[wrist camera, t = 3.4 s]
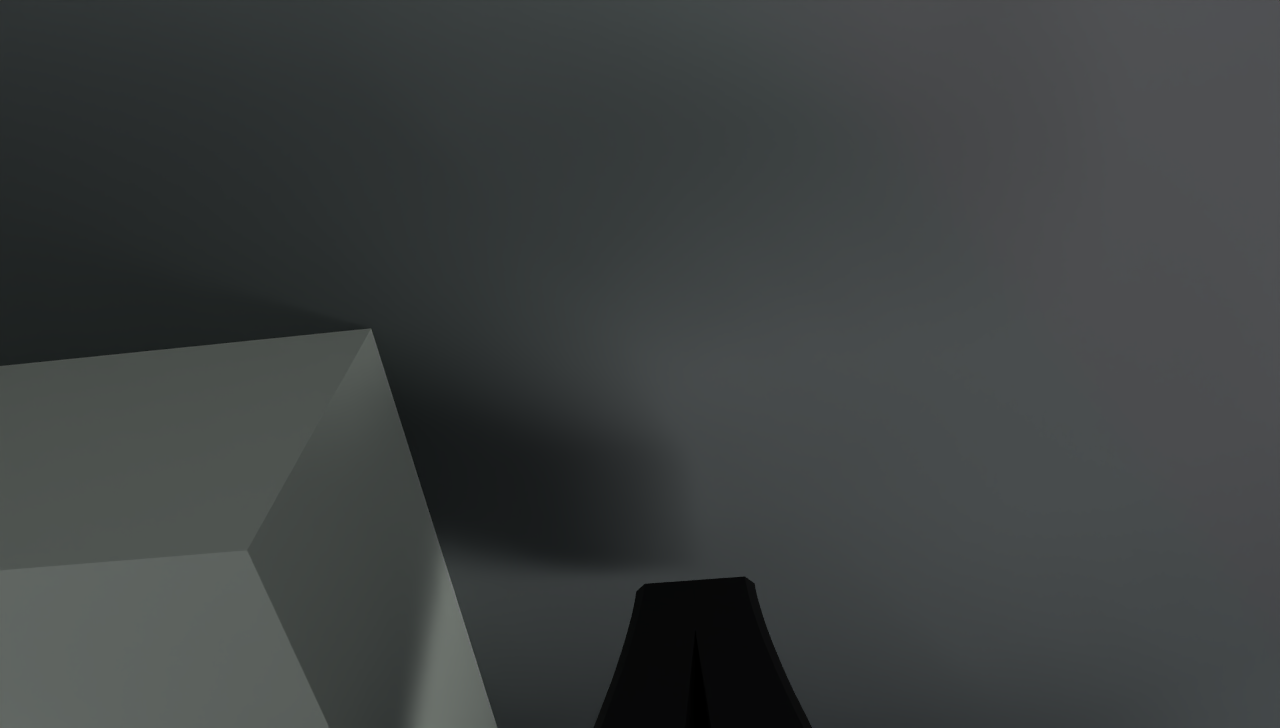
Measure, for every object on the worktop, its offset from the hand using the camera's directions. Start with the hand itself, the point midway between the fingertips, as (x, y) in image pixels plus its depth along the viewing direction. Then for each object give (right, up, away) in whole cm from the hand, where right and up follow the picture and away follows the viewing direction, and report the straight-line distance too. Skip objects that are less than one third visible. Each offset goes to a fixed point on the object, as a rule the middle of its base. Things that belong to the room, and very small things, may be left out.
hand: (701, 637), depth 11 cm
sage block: (-6, 0, +2) cm, 7 cm away
